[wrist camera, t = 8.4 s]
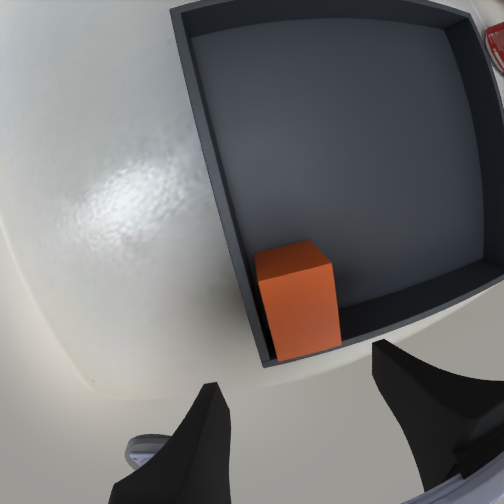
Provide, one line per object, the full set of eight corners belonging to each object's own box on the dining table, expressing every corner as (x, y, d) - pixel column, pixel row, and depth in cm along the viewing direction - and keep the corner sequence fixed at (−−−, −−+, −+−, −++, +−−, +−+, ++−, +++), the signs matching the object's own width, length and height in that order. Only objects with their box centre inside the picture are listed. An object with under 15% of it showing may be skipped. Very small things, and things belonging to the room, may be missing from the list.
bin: (482, 260, 21) (511, 275, 17) (258, 332, 22) (263, 368, 18) (442, 27, 15) (470, 13, 10) (182, 37, 15) (169, 8, 11)
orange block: (321, 308, 21) (342, 345, 16) (270, 321, 21) (278, 362, 16) (309, 239, 19) (332, 262, 15) (253, 253, 19) (257, 281, 15)
